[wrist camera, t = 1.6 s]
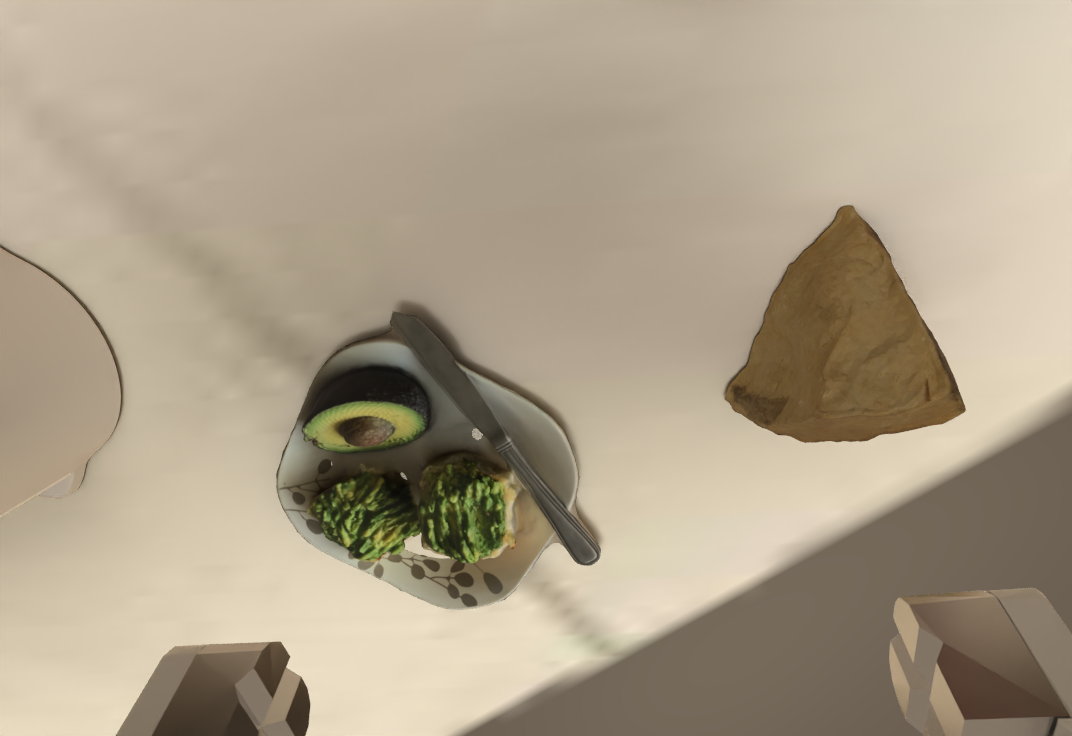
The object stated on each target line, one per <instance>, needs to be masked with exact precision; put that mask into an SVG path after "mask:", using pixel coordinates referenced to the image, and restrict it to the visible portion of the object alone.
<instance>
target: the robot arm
mask: <svg viewBox="0 0 1072 736" xmlns="http://www.w3.org/2000/svg"><path fill="white" fill-rule="evenodd" d="M120 405H121V391H120V382H119V377H118V372H117V369H116V365H115V362H114V359H113V357H112V354H111V352H110V349H109V347H108V345H107V343H106V341H105V339H104V337H103V336H102V334H101V332H100V331H99V329H98V327H97V326H96V324H95V323H94V321H93V320H92V319H91V317H90V316H89V315H88V313H87V312H86V311H85V310H84V308H83V307H82V306H81V305H80V304H79V303H78V302H77V301H76V299H75V298H74V297H73V296H72V295H71V294H70V293H69V292H67V291H66V290H65V289H64V288H63V287H62V286H61V285H60V284H58V283H57V282H56V281H55V280H53V279H52V278H51V277H49V276H48V275H47V274H45V273H44V272H42V271H41V270H39V269H38V268H36V267H34V266H32V265H31V264H29V263H27V262H25V261H23V260H21V259H19V258H17V257H16V256H14V255H12V254H10V253H8V252H7V251H5V250H3V249H2V248H0V518H1V517H3V516H5V515H6V514H8V513H10V512H11V511H13V510H15V509H16V508H18V507H19V506H21V505H23V504H24V503H26V502H28V501H29V500H31V499H32V498H34V497H36V496H37V495H39V496H45V497H51V498H63V497H66V496H67V495H69V494H71V493H72V492H74V491H76V490H77V489H78V488H79V487H80V485H81V483H82V480H83V476H84V472H85V468H86V463H87V461H88V460H89V458H90V457H91V456H92V455H93V454H94V453H95V452H96V451H97V450H99V449H100V448H101V447H102V446H103V445H104V444H105V443H106V441H107V440H108V439H109V437H110V436H111V434H112V432H113V431H114V428H115V426H116V424H117V420H118V417H119V412H120ZM893 618H894V620H895V622H896V625H897V627H898V630H899V632H900V633H899V634H898V635H897V636H896V637H895V638H894V639H892V640H891V641H890V656H889V661H890V668H891V675H892V682H893V685H894V689H895V692H896V695H897V699H898V702H899V704H900V707H901V709H902V712H903V714H904V717H905V719H906V721H907V722H909V723H910V724H911V725H912V726H914V727H915V728H916V729H917V730H918V731H920V732H921V733H922V734H923V735H924V736H1072V634H1071V632H1070V631H1069V629H1068V628H1067V627H1066V625H1065V624H1064V622H1063V621H1062V619H1061V618H1060V617H1059V616H1058V614H1057V612H1056V611H1055V610H1054V608H1053V607H1052V605H1051V604H1050V603H1049V601H1048V600H1047V598H1046V597H1045V595H1044V594H1042V593H1041V592H1040V591H1038V590H1036V589H1035V588H1021V589H1007V590H993V591H986V592H985V591H983V590H980V591H968V592H956V593H945V594H931V595H919V596H909V597H908V596H907V597H899V599H898V600H897V601H896V603H895V607H894V615H893ZM289 658H290V656H289V654H288V653H287V651H286V649H285V648H284V646H283V645H282V643H281V642H260V643H234V644H209V645H192V646H175V647H174V648H173V649H171V650H170V651H169V652H168V653H167V654H165V655H164V656H163V658H162V659H161V661H160V662H159V664H158V666H157V668H156V669H155V671H154V673H153V674H152V676H151V678H150V679H149V681H148V683H147V684H146V686H145V688H144V689H143V691H142V693H141V694H140V696H139V698H138V699H137V701H136V703H135V704H134V706H133V708H132V709H131V711H130V713H129V714H128V716H127V718H126V719H125V721H124V723H123V724H122V726H121V728H120V729H119V731H118V733H117V735H116V736H305V735H306V732H307V729H308V725H309V713H310V699H309V694H308V689H307V687H306V685H305V683H304V681H303V679H302V677H301V676H299V675H297V674H296V673H294V672H292V671H291V670H289V669H287V668H286V666H287V663H288V661H289Z"/></svg>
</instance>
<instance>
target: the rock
mask: <svg viewBox="0 0 1072 736" xmlns="http://www.w3.org/2000/svg"><path fill="white" fill-rule="evenodd" d="M764 319H765V322H764V324H763V326H762V328H761V330H760V333H759V334H758V335H757V336H756V337H755V340H754V343H753V346H752V349H751V354H750V358H749V362H748V364H747V366H746V367H745V368H744V369H743V370H742V371H741V372H740V373H739V375H738V376H737V377H736V379H735V380H734V381H733V382H731V384H730V386H729V387H728V390H727V393H726V395H725V400H726V401H728V402H729V403H730V405H731V406H732V409H733V410H734V411H735V412H737V413H740V414H742V415H743V416H745V417H746V418H747V419H749V420H751V421H753V422H754V423H755V424H756V425H758V426H760V427H762V428H765V429H768V430H770V431H772V432H774V433H776V434H777V435H787V436H791V437H793V438H795V439H797V440H799V441H802V442H805V443H806V442H820V441H823V442H824V441H834V442H841V441H849V442H852V441H860V442H861V441H867V440H870V439H872V438H875V437H876V436H878V435H882V434H893V433H899V432H904V431H909V430H914V429H918V428H922V427H926V426H931V425H938V424H943V423H945V422H947V421H949V420H951V419H953V418H955V417H957V416H958V415H960V414H962V413H964V412H965V411H966V409H965V405H964V403H963V400H962V397H961V395H960V392H959V390H958V386H957V383H956V381H955V378H954V376H953V373H952V371H951V369H950V367H949V365H948V362H947V360H946V358H945V356H944V354H943V352H942V351H941V349H940V347H939V345H938V343H937V341H936V340H935V338H934V336H933V334H932V332H931V331H930V330H929V328H928V327H927V325H926V323H925V322H924V320H923V319H922V318H921V316H920V314H919V312H918V310H917V308H916V306H915V304H914V302H913V300H912V299H911V298H910V296H909V295H908V294H907V292H906V289H905V287H904V285H903V282H902V280H901V279H900V277H899V275H898V274H897V272H896V270H895V268H894V267H893V265H892V261H891V257H890V254H889V253H888V252H887V250H886V248H885V246H884V245H883V243H882V242H881V240H880V238H879V237H878V235H877V234H876V233H875V231H874V230H873V229H872V228H871V227H870V226H869V225H868V223H866V222H865V221H864V220H863V219H862V218H861V217H860V216H859V215H858V214H857V212H856V211H855V209H854V207H853V206H843V207H842V208H841V209H840V210H839V211H838V213H837V216H836V219H835V220H834V222H833V224H832V225H831V226H830V227H829V228H828V229H827V230H826V231H825V232H824V233H823V234H822V235H821V236H820V237H819V238H818V239H817V240H816V242H815V243H814V244H813V245H812V246H810V247H809V248H807V249H806V250H805V251H804V252H803V253H802V254H801V256H800V257H799V258H798V259H797V261H796V262H795V263H794V264H791V265H789V267H788V269H787V272H786V274H785V277H784V279H783V281H782V282H781V284H780V286H779V287H778V288H777V290H776V292H775V293H774V294H773V296H772V298H771V304H770V306H769V308H768V310H767V311H766V314H765V317H764Z"/></svg>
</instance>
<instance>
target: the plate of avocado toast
mask: <svg viewBox="0 0 1072 736" xmlns="http://www.w3.org/2000/svg"><path fill="white" fill-rule="evenodd" d="M390 323H391V325H392V327H393V328H392V330H391V331H390V332H388V333H386V334H383V335H380V336H376V337H372V338H367V339H365V340H362V341H357V342H355V343H353V344H350V345H347V346H345V348H343V349H341V350H339V351H337V352H336V353H335V354H333V355H332V356H331V357H330V358H329V359H328V360H327V361H326V363H325V364H324V365H323V367H322V368H321V370H320V371H319V372H318V374H317V376H316V377H315V379H314V381H313V383H312V385H311V387H310V389H309V392H308V394H307V397H306V399H305V402H304V404H303V406H302V409H301V412H300V414H299V416H298V418H297V422H296V425H295V427H294V429H293V431H292V433H291V436H290V440H289V442H288V443H287V445H286V447H285V449H284V451H283V454H282V458H281V462H280V465H279V468H278V471H277V492H278V497H279V500H280V503H281V505H282V508H283V510H284V511H285V513H286V514H287V516H288V518H289V520H290V521H291V523H292V524H293V526H294V527H295V529H296V530H297V532H298V533H299V534H300V535H301V536H302V537H303V538H304V539H305V540H306V541H307V542H309V543H310V544H312V545H313V546H315V547H316V548H318V549H319V550H321V551H323V552H324V553H326V554H328V555H330V556H332V557H334V558H336V559H338V560H340V561H342V562H345V563H347V564H349V565H351V566H353V567H356V568H357V569H359V570H362V571H364V572H366V573H369V574H371V575H373V576H374V577H376V578H378V579H380V580H383V581H386V582H388V583H389V584H391V585H393V586H394V587H396V588H398V589H399V590H400V591H404V592H407V593H409V594H411V595H413V596H415V597H417V598H419V599H421V600H424V601H426V602H428V603H430V604H433V605H436V606H438V607H442V608H446V609H457V610H464V609H473V608H478V607H483V606H487V605H491V604H494V603H496V602H499V601H502V600H505V599H506V598H507V597H508V596H509V595H510V594H512V593H513V592H514V591H515V590H516V588H517V587H518V585H519V584H520V582H521V581H522V580H523V578H524V577H525V576H526V575H527V573H528V572H529V571H530V570H531V569H532V567H533V566H534V564H535V562H536V561H537V559H538V558H539V557H540V555H541V553H542V552H543V551H544V549H546V548H547V547H549V545H550V544H552V543H557V542H558V543H560V544H561V545H563V546H564V547H565V548H566V549H567V551H568V552H569V554H570V555H571V557H572V558H573V559H574V561H575V562H577V563H578V564H581V565H592V564H594V563H596V562H597V561H598V560H599V559H600V555H601V549H600V547H599V545H598V543H597V542H596V540H595V539H594V537H593V536H592V535H591V533H590V532H589V531H588V529H587V528H586V527H585V525H584V524H583V523H582V521H581V520H580V518H579V517H578V515H577V512H576V506H575V502H576V494H577V490H578V481H579V473H578V470H577V466H576V462H575V458H574V455H573V452H572V449H571V446H570V444H569V442H568V439H567V435H566V433H565V431H564V430H563V429H562V428H561V427H560V426H559V425H558V424H557V423H556V422H555V421H554V419H553V418H552V417H551V416H550V415H548V414H547V413H545V412H544V411H542V410H541V409H540V408H538V407H537V406H536V405H534V404H533V403H532V402H530V401H529V400H527V399H526V398H524V397H522V396H521V395H519V394H517V393H516V392H514V391H512V390H510V389H508V388H506V387H504V386H501V385H499V384H497V383H495V382H494V381H492V380H490V379H488V378H486V377H484V376H482V375H480V374H478V373H476V372H474V371H472V370H470V369H469V368H467V367H465V366H464V365H462V364H461V363H460V362H458V361H457V360H456V359H455V358H454V357H453V355H452V353H451V352H450V351H449V350H448V348H447V347H446V346H445V344H444V343H443V342H442V341H441V340H440V339H439V338H438V337H437V336H436V335H435V334H434V333H433V332H432V331H431V330H430V329H429V328H428V327H427V326H426V325H424V324H423V323H422V322H421V321H420V320H419V319H418V318H417V317H416V316H413V315H405V314H401V313H398V312H394V311H393V313H392V317H391V320H390ZM474 428H477V429H478V430H479V431H480V432H481V433H482V434H483V437H482V439H480V440H475V439H474V438H473V437H472V430H473V429H474ZM331 462H332V466H331ZM401 472H403V473H404V474H405V475H406V477H407V479H408V480H405V479H404V478H402V477H401V475H400V473H401ZM420 532H421V533H422V537H421V542H422V547H423V549H428V550H431V551H433V552H434V553H436V554H441V555H445V556H448V557H450V558H448V559H438V558H432V557H427V556H424V555H418V554H415V553H412V552H410V551H408V550H405V549H404V548H405V543H404V540H405V539H407V538H408V537H409V536H414V537H415V536H417V535H419V534H420Z"/></svg>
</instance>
